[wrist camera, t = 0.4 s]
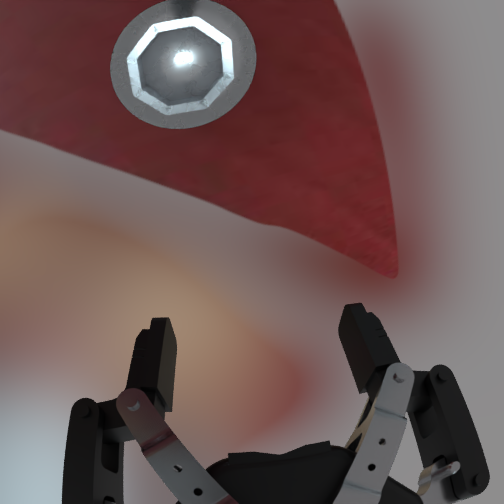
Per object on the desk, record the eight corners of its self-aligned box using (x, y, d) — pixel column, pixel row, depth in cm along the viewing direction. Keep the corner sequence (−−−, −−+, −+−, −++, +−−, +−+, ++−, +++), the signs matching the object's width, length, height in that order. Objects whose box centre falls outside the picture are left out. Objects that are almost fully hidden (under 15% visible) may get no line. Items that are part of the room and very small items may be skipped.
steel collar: (88, 86, 24) (77, 93, 22) (173, -25, 17) (170, -31, 15) (194, 149, 33) (193, 161, 31) (283, 54, 26) (292, 57, 24)
